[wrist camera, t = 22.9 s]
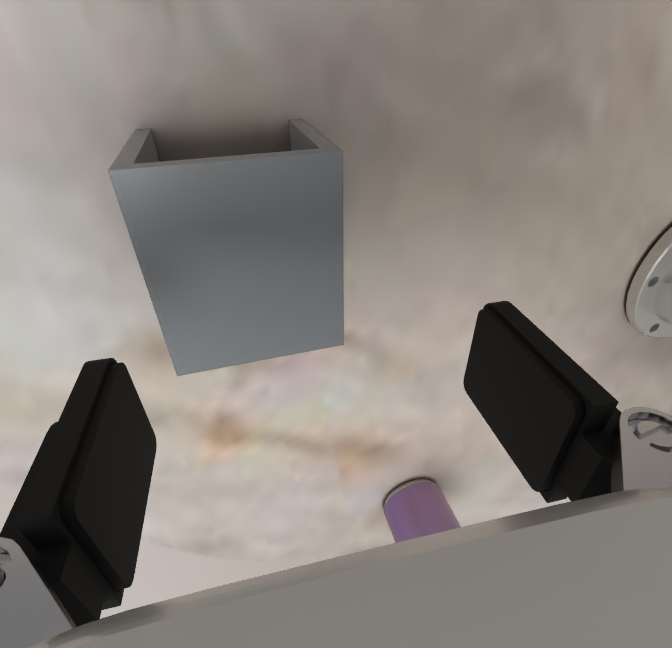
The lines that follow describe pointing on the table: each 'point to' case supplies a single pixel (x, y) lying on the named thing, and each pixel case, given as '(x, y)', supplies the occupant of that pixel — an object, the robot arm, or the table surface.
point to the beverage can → (418, 511)
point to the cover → (238, 248)
